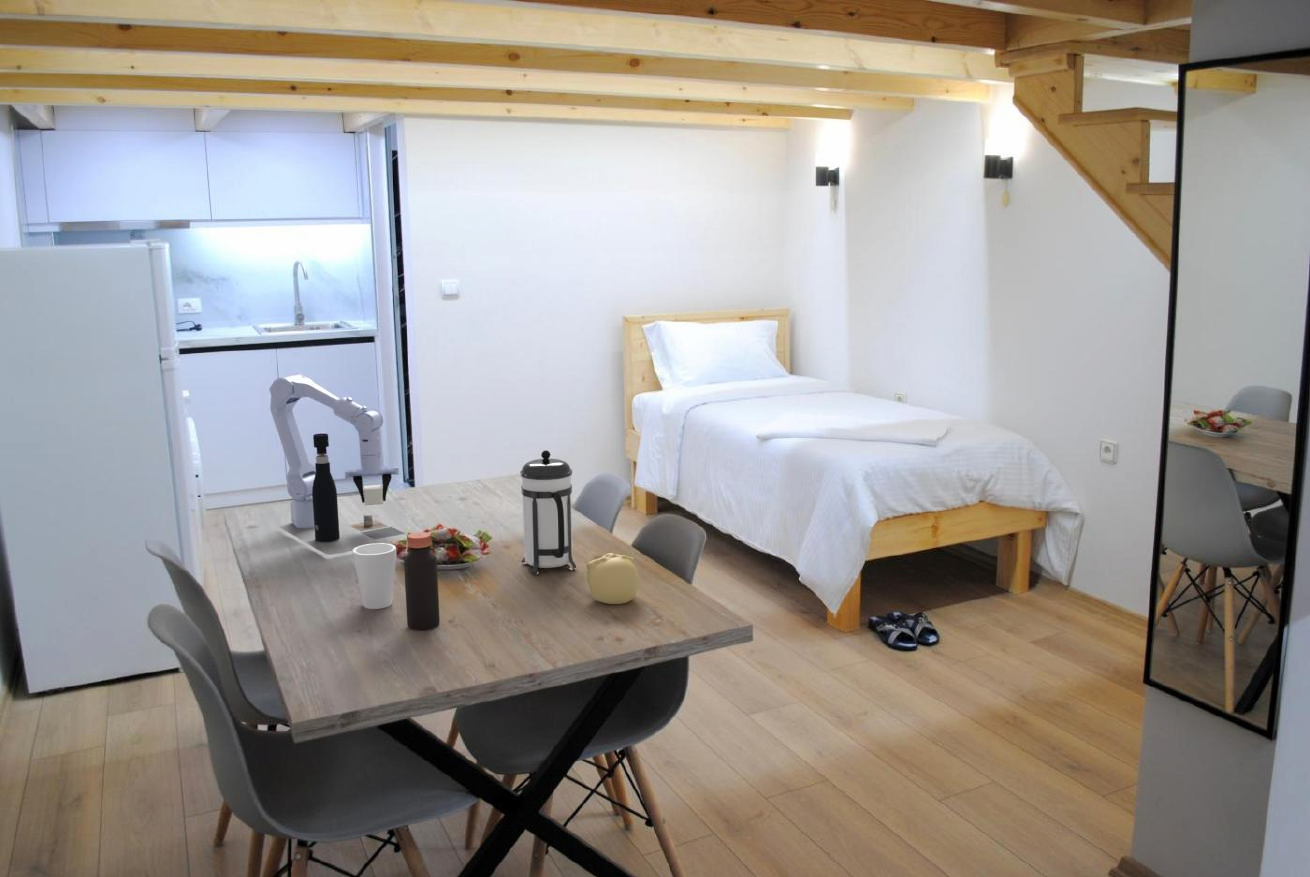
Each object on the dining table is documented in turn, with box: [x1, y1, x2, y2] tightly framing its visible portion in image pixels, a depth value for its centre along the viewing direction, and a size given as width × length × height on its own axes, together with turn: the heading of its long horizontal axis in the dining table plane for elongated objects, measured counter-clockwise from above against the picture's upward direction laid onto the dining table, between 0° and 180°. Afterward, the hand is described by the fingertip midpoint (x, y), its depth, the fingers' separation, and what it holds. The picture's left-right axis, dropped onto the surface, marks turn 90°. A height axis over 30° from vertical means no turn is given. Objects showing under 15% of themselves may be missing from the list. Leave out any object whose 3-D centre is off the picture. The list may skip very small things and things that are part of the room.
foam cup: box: [352, 542, 398, 610], centre depth 239 cm, size 10×9×13 cm
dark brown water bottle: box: [403, 531, 441, 631], centre depth 225 cm, size 7×7×20 cm
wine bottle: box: [312, 433, 341, 543], centre depth 287 cm, size 6×6×30 cm
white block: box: [363, 484, 384, 506], centre depth 298 cm, size 5×5×4 cm
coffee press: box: [519, 450, 577, 575], centre depth 262 cm, size 17×16×30 cm
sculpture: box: [586, 552, 640, 605], centre depth 241 cm, size 12×12×11 cm
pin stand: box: [349, 513, 387, 532], centre depth 303 cm, size 8×8×4 cm
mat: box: [360, 526, 406, 540], centre depth 295 cm, size 9×9×1 cm
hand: (373, 501), depth 298 cm, fingers closed on white block, 5 cm apart
